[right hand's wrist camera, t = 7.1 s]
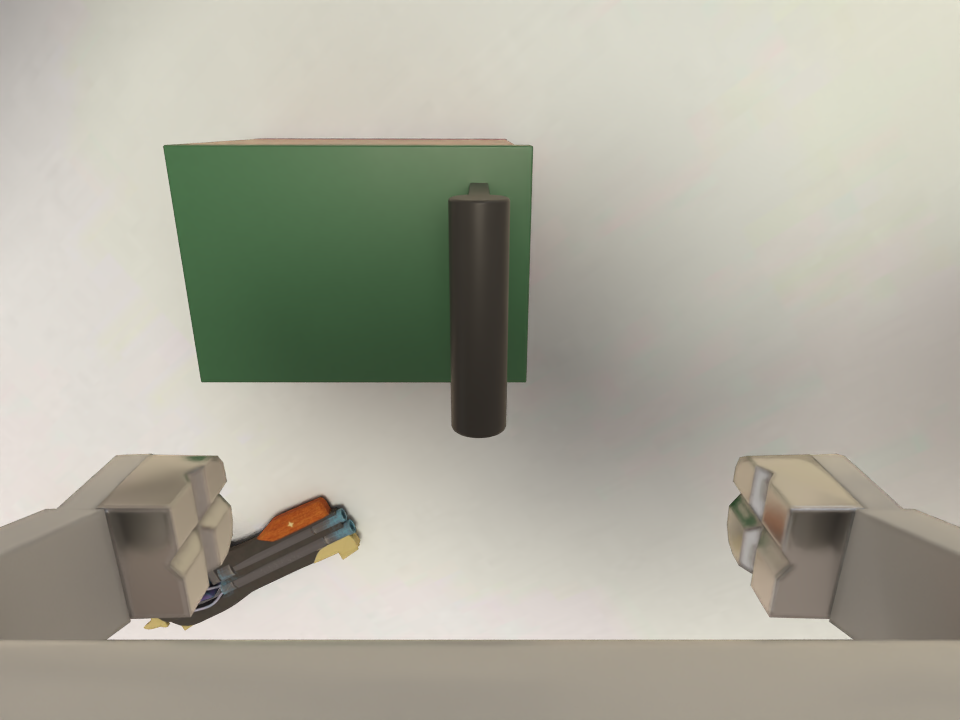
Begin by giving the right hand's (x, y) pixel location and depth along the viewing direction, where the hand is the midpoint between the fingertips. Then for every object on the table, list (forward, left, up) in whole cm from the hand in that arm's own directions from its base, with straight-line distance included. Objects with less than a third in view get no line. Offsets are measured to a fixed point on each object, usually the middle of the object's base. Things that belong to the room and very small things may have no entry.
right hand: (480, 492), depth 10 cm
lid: (+2, +4, -18) cm, 18 cm away
